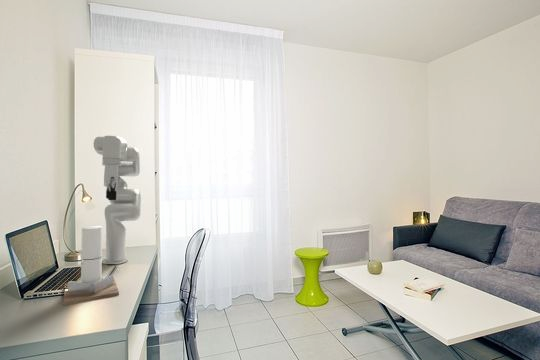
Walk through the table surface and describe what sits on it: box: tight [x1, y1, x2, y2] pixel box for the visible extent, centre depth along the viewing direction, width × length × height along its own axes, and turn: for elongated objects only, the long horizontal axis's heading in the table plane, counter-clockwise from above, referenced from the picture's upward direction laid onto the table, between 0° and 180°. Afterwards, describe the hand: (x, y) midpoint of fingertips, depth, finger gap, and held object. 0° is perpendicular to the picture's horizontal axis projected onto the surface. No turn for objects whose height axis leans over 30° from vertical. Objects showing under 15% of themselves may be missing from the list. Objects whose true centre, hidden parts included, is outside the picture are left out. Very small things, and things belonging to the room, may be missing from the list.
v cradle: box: [63, 274, 120, 306], centre depth 118 cm, size 20×18×5 cm
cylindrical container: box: [80, 225, 103, 283], centre depth 118 cm, size 7×7×25 cm
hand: (111, 199), depth 135 cm, fingers open, 9 cm apart
